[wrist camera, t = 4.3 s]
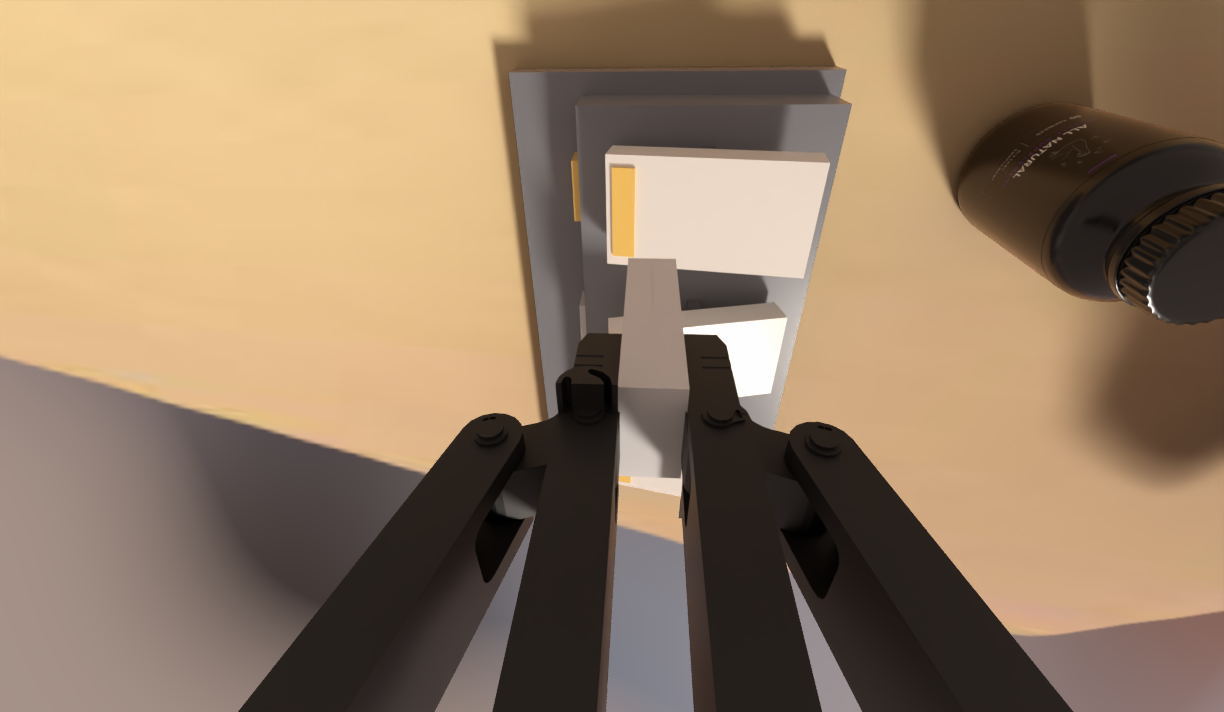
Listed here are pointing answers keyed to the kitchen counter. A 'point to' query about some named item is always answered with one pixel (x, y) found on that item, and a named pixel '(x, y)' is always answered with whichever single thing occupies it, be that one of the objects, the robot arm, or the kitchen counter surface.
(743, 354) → the rocker
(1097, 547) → the kitchen counter surface
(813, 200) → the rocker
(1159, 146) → the supplement bottle
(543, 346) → the switch unit
